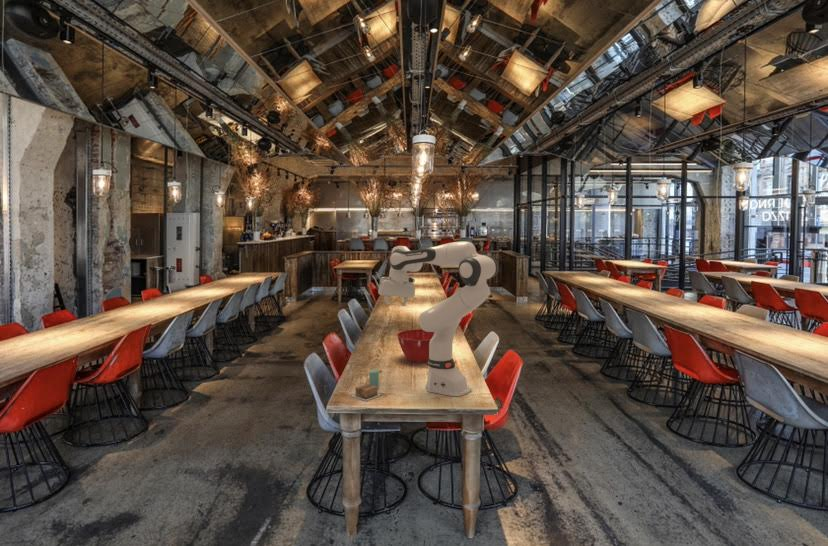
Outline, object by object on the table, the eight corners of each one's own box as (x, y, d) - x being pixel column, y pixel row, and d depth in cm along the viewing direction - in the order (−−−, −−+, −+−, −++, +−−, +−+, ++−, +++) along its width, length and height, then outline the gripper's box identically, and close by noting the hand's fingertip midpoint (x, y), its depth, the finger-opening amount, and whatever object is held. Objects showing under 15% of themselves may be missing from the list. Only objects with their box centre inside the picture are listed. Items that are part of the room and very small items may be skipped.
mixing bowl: (396, 367, 274) (396, 339, 272) (397, 353, 302) (397, 328, 301) (447, 366, 274) (448, 339, 273) (444, 353, 303) (444, 328, 301)
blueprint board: (385, 395, 228) (385, 394, 228) (365, 402, 219) (365, 401, 219) (366, 389, 236) (366, 389, 236) (347, 396, 227) (347, 395, 227)
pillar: (378, 386, 242) (378, 369, 241) (378, 388, 238) (377, 372, 237) (370, 386, 242) (370, 369, 241) (369, 388, 238) (369, 372, 237)
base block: (377, 395, 228) (377, 386, 228) (366, 399, 223) (366, 390, 222) (366, 391, 233) (366, 383, 232) (355, 395, 227) (355, 387, 227)
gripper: (383, 276, 243) (381, 304, 242) (417, 279, 255) (415, 306, 254) (377, 276, 248) (374, 303, 247) (410, 279, 260) (408, 306, 259)
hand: (395, 305), depth 250 cm, fingers open, 8 cm apart
